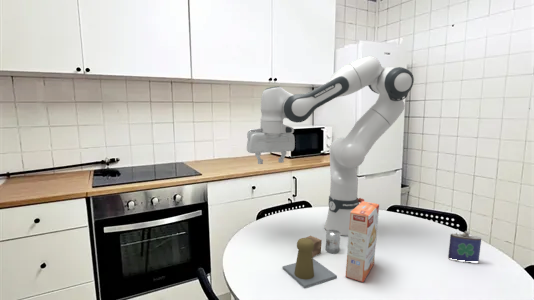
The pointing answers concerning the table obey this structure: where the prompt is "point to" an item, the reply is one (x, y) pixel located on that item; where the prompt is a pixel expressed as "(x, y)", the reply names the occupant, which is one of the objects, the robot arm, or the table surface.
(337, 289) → the table surface
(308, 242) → the olive pawn piece
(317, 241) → the walnut block
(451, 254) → the flask
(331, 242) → the grey tin
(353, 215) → the cracker box
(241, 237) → the table surface
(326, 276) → the coaster
